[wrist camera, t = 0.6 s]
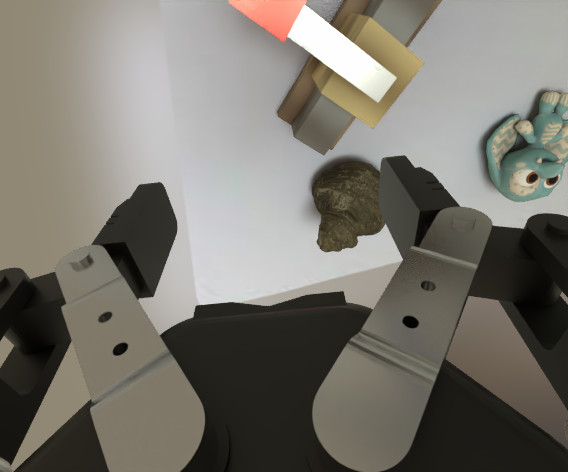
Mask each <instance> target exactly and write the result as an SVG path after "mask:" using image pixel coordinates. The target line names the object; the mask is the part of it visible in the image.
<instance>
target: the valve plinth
mask: <svg viewBox="0 0 568 472" xmlns="http://www.w3.org/2000/svg"><path fill="white" fill-rule="evenodd" d="M441 1H442V0H344V2H343V4H342V5H341V7H340V9H339V10H338V12H337V14H336V15H335V17H334V19H333V20H332V22H331V24H330V25H331V26H332V27H333V28H335V29H336V30H337V31H338V32H340V33H341V34H342V35H343V36H345V37H346V38H347V39H349V40H350V41H351V42H352V43H354V44H355V45H356V46H357V47H359V48H360V49H361V50H362V51H364V52H365V53H366V54H368V55H369V56H370V57H371V58H373V59H374V60H375V61H376V62H378V63H379V64H380V65H381V66H383V67H384V68H385V69H387V70H388V71H389V72H390V73H392V74H393V75H394V76H395V77H397V79H396V80H395V81H394V83H393V84H392V85H391V87H390V88H389V89H388V91H387V92H386V93H385V94H384V96H383V97H382V98H381V100H380V101H379V102H376V101H375V100H374V99H372V98H371V97H369V96H368V95H367V94H365V93H364V92H363V91H361V90H360V89H359V88H357V87H356V86H354V85H353V84H352V83H350V82H349V81H348V80H346V79H345V78H344V77H342V76H341V75H339V74H338V73H337V72H335V71H334V70H333V69H331V68H330V67H329V66H327V65H326V64H324V63H323V62H322V61H320V60H319V59H318V58H316V57H315V56H313V55H311V57H310V59H309V60H308V62H307V64H306V65H305V67H304V69H303V70H302V72H301V74H300V75H299V77H298V79H297V80H296V82H295V84H294V85H293V87H292V89H291V90H290V92H289V94H288V95H287V97H286V99H285V100H284V102H283V104H282V105H281V107H280V109H279V110H278V112H277V113H278V117H280V118H281V119H283V120H284V121H286V122H288V123H289V124H291V125H292V129H293V134H294V137H295V138H296V139H298V140H299V141H301V142H303V143H304V144H306V145H308V146H309V147H311V148H313V149H314V150H316V151H317V152H319V153H321V154H322V155H325V154H326V152H327V151H328V150H329V149H331V150H332V149H333V148H334V146H335V145H336V144H337V142H338V141H339V140H340V138H341V137H342V136H343V134H344V133H345V131H346V130H347V129H348V127H349V126H350V125H351V123H352V122H353V121H354V119H355V118H356V117H357V118H358V119H360V120H361V121H362V122H364V123H365V124H367V125H368V126H370V127H371V128H373V129H374V127H375V126H376V125H377V123H378V122H379V121H380V120H381V118H382V117H383V116H384V114H385V113H386V112H387V111H388V109H389V108H390V107H391V105H392V104H393V103H394V102H395V100H396V99H397V98H398V97H399V95H400V94H401V93H402V91H403V90H404V89H405V88H406V86H407V85H408V84H409V82H410V81H411V80H412V79H413V77H414V76H415V75H416V73H417V72H418V71H419V70H420V68H421V67H422V66H423V64H424V62H423V61H422V60H420V59H419V58H418V57H417V56H416V55H415V54H413V53H412V52H411V51H410V50H409V49H407V47H408V46H409V44H410V43H411V42H412V40H413V39H414V38H415V36H416V35H417V34H418V32H419V31H420V29H421V28H422V27H423V25H424V24H425V23H426V21H427V20H428V19H429V17H430V16H431V15H432V13H433V12H434V10H435V9H436V8H437V6H438V5H439V4H440V2H441Z"/></svg>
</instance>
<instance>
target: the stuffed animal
mask: <svg viewBox="0 0 568 472" xmlns="http://www.w3.org/2000/svg"><path fill="white" fill-rule="evenodd" d="M553 109H554V112H553V113H552V110H553ZM567 110H568V93H561V94H559V93H557V92H555V91H548V92H545V93H543V95H542V97H541V99H540V103H539V115H537V116H536V117H535V118H534V119H533V121H532V123H530V122H529V121H528V120H522V121H520V116H519V114H517V115H514V116H511V117H510V118H509V119H507V120H506V121H505V122H504V123H503V124H501V125H500V126H499V127H498V128H497V129H496V130H495V131H494V133H493V134H492V135H491V137H490V138H489V139H488V141H487V145H486V154H487V159H488V169H489V173H490V177H491V180H492V181H493V183H494V184H495V187H496V188H497V190H498V191H499V192H500V193H501V194H502V195H503V196H505V197H506V198H508V199H510V200H512V201H515V202H524V201H530V200H534V199H538V198H541V197H545V196H548V195H549V194H550V193H551V192H552V190H553V189H554V187H555V186H556V185H557V184H558V183H559V182H560V180H561V178H562V174H563V169H564V167H565V165H564V164H565V163H566V162H567V161H568V120H562V116H563V114H564V113H565V112H566V111H567ZM518 133H520V134H521V136H522V137H523V138H525V140H526V141H527V142H528V143H529V145H528V146H527V147H526V148H524V149H522V150H518V151H515V152H512V153H509V154H507V153H508V152H509V151H510V150H511V149H512V147H513V146H514V145H515V144H516V140H517V136H518Z"/></svg>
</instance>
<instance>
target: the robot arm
mask: <svg viewBox="0 0 568 472" xmlns="http://www.w3.org/2000/svg"><path fill="white" fill-rule="evenodd" d="M378 202H379V209H380V212H381V214H382V216H383V218H384V221H385V223H386V225H387V227H388V229H389V231H390V233H391V235H392V237H393V239H394V241H395V244H396V246H397V248H398V250H399V252H400V254H401V256H402V258H403V261H402V263H401V265H400V266H399V268H398V270H397V271H396V273H395V274H394V276H393V278H392V279H391V281H390V283H389V284H388V286H387V288H386V289H385V291H384V293H383V294H382V296H381V298H380V299H379V301H378V303H377V304H376V306H375V307H374V309H371V308H368V307H365V306H362V305H357V304H353V303H346V300H345V296H344V292H343V291H342V292H331V293H321V294H311V295H305V296H301V297H299V298H295V299H292V300H288V301H285V302H282V303H279V304H276V305H272V306H261V305H252V304H243V303H234V302H229V303H218V304H208V305H198V306H196V308H195V312H194V317H193V318H190V319H187V320H185V321H183V322H181V323H178V324H176V325H174V326H173V327H171V328H170V329H168V330H167V331H165V332H163V333H162V334H161V335H159V334H158V332H157V331H156V329H155V327H154V326H153V324H152V323H151V321H150V319H149V318H148V316H147V314H146V313H145V311H144V310H143V308H142V307H141V305H140V303H139V302H138V299H139V298H147V297H153V296H154V294H155V291H156V288H157V285H158V283H159V280H160V277H161V275H162V272H163V269H164V266H165V264H166V261H167V258H168V256H169V253H170V250H171V247H172V245H173V242H174V240H175V237H176V234H177V220H176V217H175V214H174V212H173V209H172V206H171V203H170V200H169V198H168V195H167V192H166V190H165V187H164V186H163V184H162V183H160V182H158V183H150V184H141V185H139V186H138V187H137V188H136V190H135V192H134V193H133V195H132V196H131V198H130V199H127V200H126V201H124V202H123V203H122V204H121V205H119V206H118V207H117V208H116V209H115V211H114V212H113V214H112V215H111V218H109V220H108V221H107V222H106V225H104V227H103V228H102V230H101V231H100V233H99V234H98V236H97V237H96V239H95V240H94V242H93V243H92V245H89V246H85V247H81V248H79V249H76V250H74V251H72V252H70V253H69V254H67V255H66V256H64V257H63V258H62V259H61V260H60V261H59V262H58V264H57V265H56V267H55V272H53V273H49V274H46V275H43V276H40V277H36V278H33V279H30V278H29V277H28V276H27V274H26V273H25V272H24V271H23V270H22V269H20V268H9V269H4V270H1V271H0V341H1V339H2V338H3V336H5V337H6V338H7V339H8V340H9V341H10V342H11V343H12V344H14V347H13V349H12V351H11V352H10V354H9V355H8V357H7V358H6V360H5V361H4V363H3V365H2V366H1V368H0V472H12V469H11V464H12V462H13V460H14V458H15V456H16V454H17V452H18V450H19V448H20V446H21V444H22V442H23V440H24V438H25V435H26V434H27V431H28V429H29V427H30V425H31V423H32V421H33V419H34V417H35V415H36V413H37V411H38V409H39V407H40V405H41V403H42V401H43V399H44V396H45V395H46V393H47V390H48V388H49V386H50V384H51V382H52V380H53V378H54V376H55V374H56V372H57V370H58V368H59V366H60V363H61V362H62V360H63V358H64V355H65V353H66V351H67V349H68V347H69V345H70V343H71V341H72V342H73V345H74V348H75V351H76V354H77V357H78V360H79V363H80V366H81V369H82V372H83V375H84V378H85V381H86V384H87V387H88V390H89V393H90V396H91V400H90V401H88V402H87V403H86V404H85V405H84V406H83V407H82V408H81V409H80V410H79V411H78V412H77V413H76V414H75V415H73V416H72V417H71V418H70V419H69V420H68V421H67V422H66V423H65V424H64V425H63V426H62V427H61V428H60V429H58V430H57V431H56V432H55V433H54V434H53V435H52V436H51V437H50V438H49V439H48V440H47V441H46V442H45V443H44V444H42V446H40V447H39V448H38V449H37V450H36V451H35V452H34V453H33V454H32V455H31V456H30V457H29V458H27V459H26V460H25V461H24V463H22V464H21V465H20V466H19V467H18V468H17V469H16V470H15V471H14V472H568V450H567V449H566V448H565V447H564V446H563V445H562V444H561V443H559V442H558V441H557V440H556V439H554V438H553V437H552V436H550V435H549V434H548V433H546V432H545V431H544V430H542V429H541V428H539V427H538V426H537V425H535V424H534V423H533V422H531V421H530V420H528V419H527V418H526V417H524V416H523V415H522V414H520V413H519V412H518V411H516V410H515V409H513V408H512V407H511V406H509V405H508V404H506V403H505V402H504V401H502V400H501V399H500V398H498V397H497V396H496V395H494V394H493V393H491V392H490V391H489V390H487V389H486V388H484V387H483V386H482V385H480V384H479V383H478V382H476V381H475V380H474V379H472V378H471V377H469V376H468V375H467V374H465V373H464V372H463V371H461V370H460V369H458V368H457V367H456V366H454V365H453V364H452V363H450V362H449V361H447V360H446V357H447V354H448V352H449V348H450V346H451V343H452V340H453V337H454V335H455V331H456V329H457V326H458V323H459V321H460V318H461V315H462V312H463V310H464V307H465V304H466V301H467V299H468V296H474V297H481V298H488V299H495V300H499V302H500V304H501V305H502V307H503V308H504V310H505V312H506V313H507V315H508V316H509V318H510V319H511V321H512V323H513V324H514V326H515V327H516V329H517V331H518V332H519V334H520V335H521V337H522V339H523V340H524V342H525V343H526V345H527V347H528V348H529V350H530V351H531V353H532V354H533V356H534V358H535V359H536V361H537V362H538V364H539V365H540V367H541V369H542V370H543V372H544V373H545V375H546V377H547V378H548V380H549V381H550V383H551V385H552V386H553V388H554V389H555V391H556V393H557V394H558V396H559V397H560V399H561V400H562V402H563V404H564V405H565V407H566V408H567V410H568V305H567V303H566V302H565V301H564V300H563V299H562V297H561V296H560V294H561V293H562V291H563V293H564V294H565V295H566V296H567V297H568V217H567V216H563V215H559V214H549V213H544V214H537V215H534V216H531V217H530V218H529V219H528V220H527V223H526V225H525V227H524V229H521V228H510V227H499V226H492V221H491V219H490V218H489V217H488V216H487V215H485V214H484V213H482V212H480V211H478V210H475V209H471V208H467V207H460V206H459V204H458V203H457V202H456V201H455V200H454V198H453V197H452V196H451V195H450V194H449V193H448V191H447V190H446V189H444V187H443V185H442V184H441V183H439V181H438V180H437V178H436V177H435V176H434V175H433V174H432V173H431V172H429V171H427V170H425V169H423V168H421V167H418V168H415V167H414V166H413V165H412V164H411V162H410V161H409V160H408V158H407V157H406V156H405V155H403V156H394V157H385V158H383V159H382V161H381V169H380V182H379V195H378ZM565 434H566V437H567V440H568V418H567V420H566V423H565Z"/></svg>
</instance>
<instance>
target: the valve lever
mask: <svg viewBox="0 0 568 472" xmlns="http://www.w3.org/2000/svg"><path fill="white" fill-rule="evenodd" d="M306 1H307V0H229V2H228V3H230V4H231V5H233V6H234V7H235V8H237V9H238V10H239V11H241V12H242V13H244V14H245V15H246V16H248V17H249V18H251V19H252V20H253V21H255V22H256V23H257V24H259V25H260V26H262V27H263V28H264V29H266V30H267V31H269V32H270V33H271V34H273V35H274V36H275V37H277V38H278V39H280V40H281V41H282V42H284V41H285V40H286V38H287V36H288V37H289V38H290V39H292V40H293V41H294V42H296V43H297V44H298V45H300V46H301V47H303V48H304V49H305V50H307V51H308V52H309V53H311V54H312V55H313V56H315V57H316V58H318V59H319V60H320V61H322V62H323V63H324V64H326V65H327V66H329V67H330V68H331V69H333V70H334V71H335V72H337V73H338V74H339V75H341V76H342V77H344V78H345V79H346V80H348V81H349V82H350V83H352V84H353V85H354V86H356V87H357V88H359V89H360V90H361V91H363V92H364V93H365V94H367V95H368V96H369V97H371V98H372V99H374V100H375V101H376V102H379V101H380V100H381V98H382V97H383V96H384V94H385V93H386V92H387V91H388V89H389V88H390V87H391V85H392V84H393V83H394V81H395V80H396V79H397V77H395V76H394V75H393V74H392V73H390V72H389V71H388V70H387V69H385V68H384V67H383V66H381V65H380V64H379V63H378V62H376V61H375V60H374V59H373V58H371V57H370V56H369V55H368V54H366V53H365V52H364V51H362V50H361V49H360V48H359V47H357V46H356V45H355V44H354V43H352V42H351V41H350V40H349V39H347V38H346V37H345V36H343V35H342V34H341V33H340V32H338V31H337V30H336V29H335V28H333V27H332V26H331V25H330V24H328V23H327V22H326V21H324V20H323V19H322V18H321V17H319V16H318V15H317V14H316V13H314V12H313V11H312V10H311V9H309V8H308V7H307V6H305V3H306Z"/></svg>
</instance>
